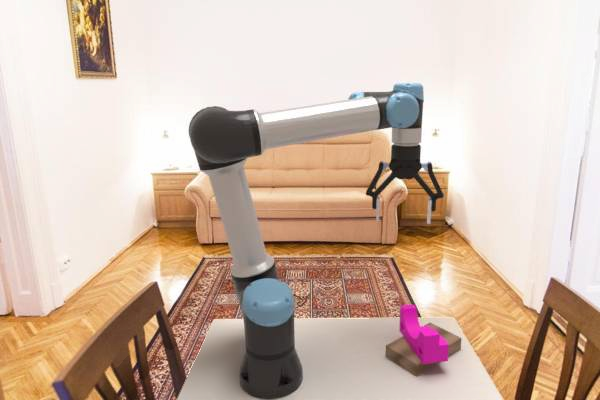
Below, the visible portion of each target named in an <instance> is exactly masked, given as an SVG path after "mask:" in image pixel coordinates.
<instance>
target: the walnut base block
mask: <svg viewBox="0 0 600 400" xmlns="http://www.w3.org/2000/svg"><path fill="white" fill-rule="evenodd" d="M423 326H430V328H431V329H435V330H436V331H437V332H438V333H439V334H440V335H441V336H442V337H443V338H444V339H445V341H446V342H447V343H448V344H449V350H448V358H449V357H451V356H453V355H454V354H456V353H457V352H460V351H461V349H462V340H463V339H462V337H460V336H458V335H456V334H454V333H453V332H451V331H448V330H446V329H444V328H442V327H440V326H438V325H436V324H434V323H432V322H428V323H427V324H424V325H423ZM384 357H385V359H388V360H390V361H391V362H392V363H394V364H396V365H397V366H399V367H400V368H402V369H404V370H405V371H407V372H408V373H410V374H412V375H414V376H415V377H419V376H420V375H422V374H423V373H425V372H427V371H428V370H430V369H432V368H433V367H435V366H436V365H438V364H440V363H441V362H436V363H428V364H423V363H422V362H421V360H420V359H419V357H418V356H417V355H416V353H415V352H414V350H413V349H412V348H411V346H410V345H409V343H408V342H407V341H406V339H405V338H404V337H403V336H401V337H399V338H398V339H395V340H394V341H391V342H390V343H387V344H386V345H385V356H384Z"/></svg>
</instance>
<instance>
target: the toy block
mask: <svg viewBox="0 0 600 400" xmlns="http://www.w3.org/2000/svg"><path fill="white" fill-rule="evenodd" d="M417 310H418V308H417V307H416V305H415V304H405V305H403V304H402V305H400V306H399V328H398V329H399V332H400V334H401V335H402V337H404V338H405V339H406V341H407V342H408V343H409V345H410V346H411V348H412V349H413V350H414V352H415V353H416V355H417V356H418V357H419V359H420V360H421V362H422V363H423V364H428V363H436V362H440V363H442V362H448V361H449V357H448V350H449V344H448V343H447V342H446V341H445V339H444V338H443V337H442V336H441V335H440V334H439V333H438V332H437V331H436V330H435V329H431V328H430V326H424V325H420V322H419V317H418V311H417Z"/></svg>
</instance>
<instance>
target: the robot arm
mask: <svg viewBox="0 0 600 400" xmlns="http://www.w3.org/2000/svg"><path fill="white" fill-rule="evenodd" d="M392 88H393V89H392V91H391V90H390V91H360V92H353V93H351V94H350V95H349V97H348V99H345V100H338V101H332V102H330V101H329V102H325V103H324V102H323V103H319V104H317V103H316V104H312V105H306V106H305V105H304V106H299V107H292V108H286V109H279V110H274V111H272V110H271V111H266V112H259V111H257V110H256V109H247V110H230V109H229V110H228V109H226V108H225V107H223V106H217V105H214V106H207V107H203V108H202V109H200V110H198V111H197V112H196V113H195V114H194V115H192V117H191V120H190V122H189V125H188V137H189V139H190V143H191V147H192V148H193V151H194V154H195V157H196V161H197V164H198V168H199V171H200V172H202V173H203V174H205V175H207V176H208V179H209V182H210V185H211V189H212V193H213V196H214V198H215V202H216V205H217V209H218V210H217V211H218V214H219V216H220V220H221V223H222V226H223V230H224V233H225V237H226V240H227V243H228V248H229V251H230V254H231V258H232V261H233V264H232V266H231V267H230V276H231V279H232V282H233V285H234V290H235V293H236V296H237V300H238V303H239V306H240V310H241V311H240V312H241V315H242V319H243V325H244V340H245V341H244V343H245V352H244V356H243V359H242V362H241V365H240V369H239V382H240V386H241V387H242V389H243V390H244V391H245V392H246V393H247V394H249V395H250V396H253V397H255V398H259V399H270V400H271V399H278V398H282V397H285V396H288V395H290V394H291V393H293V392H295V391H296V390H297V389H298V388H299V387H300V385H301V384H302V382H303V373H304V372H303V370H304V369H303V365H302V362H301V359H300V357H299V354H298V353H297V350H296V346H295V345H296V343H295V341H296V340H295V339H296V338H295V298H294V292H293V290H292V288H291V287H290V285H288V284H287V283H286V282H285V281H280V276H279V272H278V270H277V264H276V262H275V258H274V257H273V256H272V255H270V254H268V253H267V251H266V247H265V242H264V240H263V236H262V235H263V234H262V231H261V227H260V224H259V220H258V217H257V214H256V213H257V212H256V209H255V205H254V201H253V199H252V197H253V196H252V194H251V190H250V187H249V183H248V179H247V175H246V172H245V167H244V166H245V164H246V162H247V161H248V159H249V158H252V157H258V156H262V155H263V154H264V153H265V151H266V150H270V149H277V148H280V147H288V146H293V145H298V144H303V143H309V142H314V141H319V140H326V139H332V138H337V137H343V136H347V135H353V134H360V133H365V132H366V133H367V132H371V131H376V130H377V131H379V130H384V129H391V143H393V144H392V145H391V146H390V147H391V149H390V160H389V161H390V162H385V161H383V160H380V161H379V162H378V169H377V170H376V173H375V174H374V176H373V178H372V180H371V182H370V184H369V186H368V188H367V189H366V191H365V195H366V196H369V197H371V198H372V199H371V204H372V205H371V208H372V210H375V211H376V212H375V222H376V223H377V222H378V223H379V222H380V206H381V205H380V204H381V203H380V201H381V200H380V199H381V196H379V195H380V194H381V193H382V192H383V191H384V190H385V189H386V187H388V185H390V184H391V182H393V181H394V179H398V180H405V179H406V180H411V179H415V181H416V183H418V184H419V186H421V188H422V189H423V190H424V191H425V193H426V194H427V195H428V196H429V197H428V198H427V212H426V213H427V214H426V222H427V223H426V224H427V225H431V222H432V221H431V219H432V212H435V211H436V209H437V208H436V207H437V200H439V199H443V198H444V196H445V195H444V192H443V191H442V188H441V187H440V184H439V181H438V179H437V178H436V175H435V174H434V170H433V164H432V161H428V162H422V163H421V154H422V153H421V149H422V146H421V144H420V143H422V133H423V132H422V129H423V127H422V125H423V110H424V101H425V100H424V99H425V98H424V86H423V84H421V83H420V82H408V83H405V82H404V83H395V84H393V87H392ZM387 168H388V169H389V170H390V171H391V173H390V174H389V175H388V176H387V177H386V179H384V180H383V182H382V183H381V184H379V186H378V187H377V188H376V189H375V190H374V188H375V186H376V184H377V182H378V181H379V179H380V177H381V176H382V174H383V171H386V170H387ZM422 168H423V170H424V171H425V172H427V173H428V176H429V178H430V181H431V182H432V185H433V187H434V188H435V189H434V190H435V191H436V193H435V192H434V191H433V190H432V189H431V187H429V185H428V183H426V182H425V180H424V179H423V178H422V177H421V175H420V174H419V172H420V171H421V170H422ZM373 190H374V191H373Z"/></svg>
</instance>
